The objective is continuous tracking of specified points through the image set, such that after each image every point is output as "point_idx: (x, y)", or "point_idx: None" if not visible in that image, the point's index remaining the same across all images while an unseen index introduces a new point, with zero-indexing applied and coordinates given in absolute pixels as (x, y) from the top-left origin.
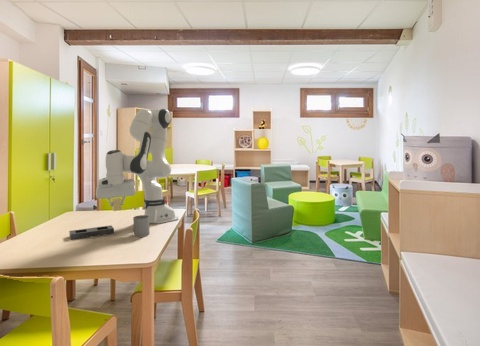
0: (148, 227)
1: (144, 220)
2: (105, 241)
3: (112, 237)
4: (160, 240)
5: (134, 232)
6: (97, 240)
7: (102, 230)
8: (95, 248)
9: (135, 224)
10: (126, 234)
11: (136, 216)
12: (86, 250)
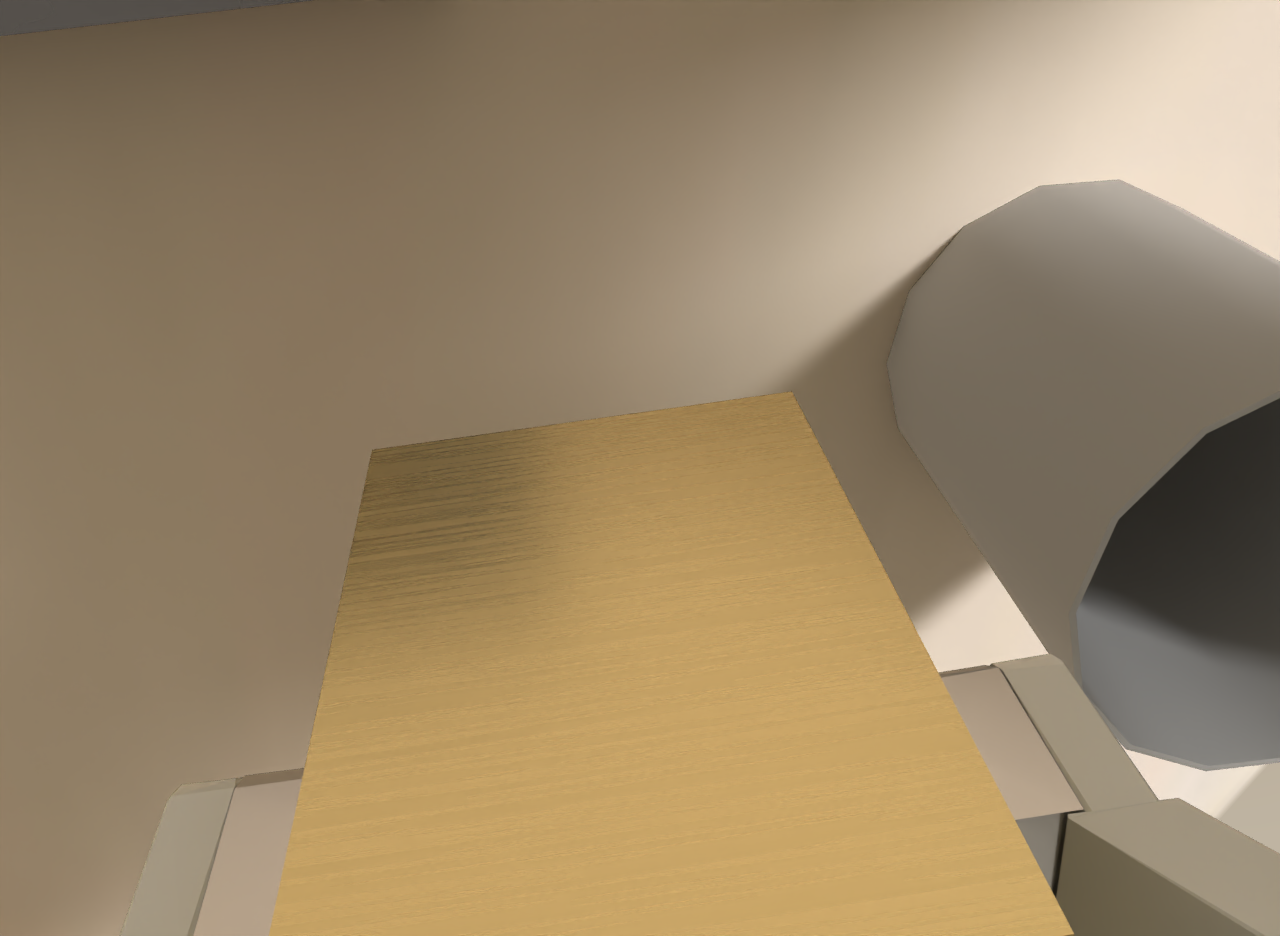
0: (1253, 515)
1: (1261, 715)
2: (282, 538)
3: (417, 313)
4: (1171, 783)
5: (915, 423)
6: (89, 411)
7: (96, 23)
8: (153, 830)
9: (1009, 594)
10: (751, 196)
11: (1244, 405)
12: (18, 871)
